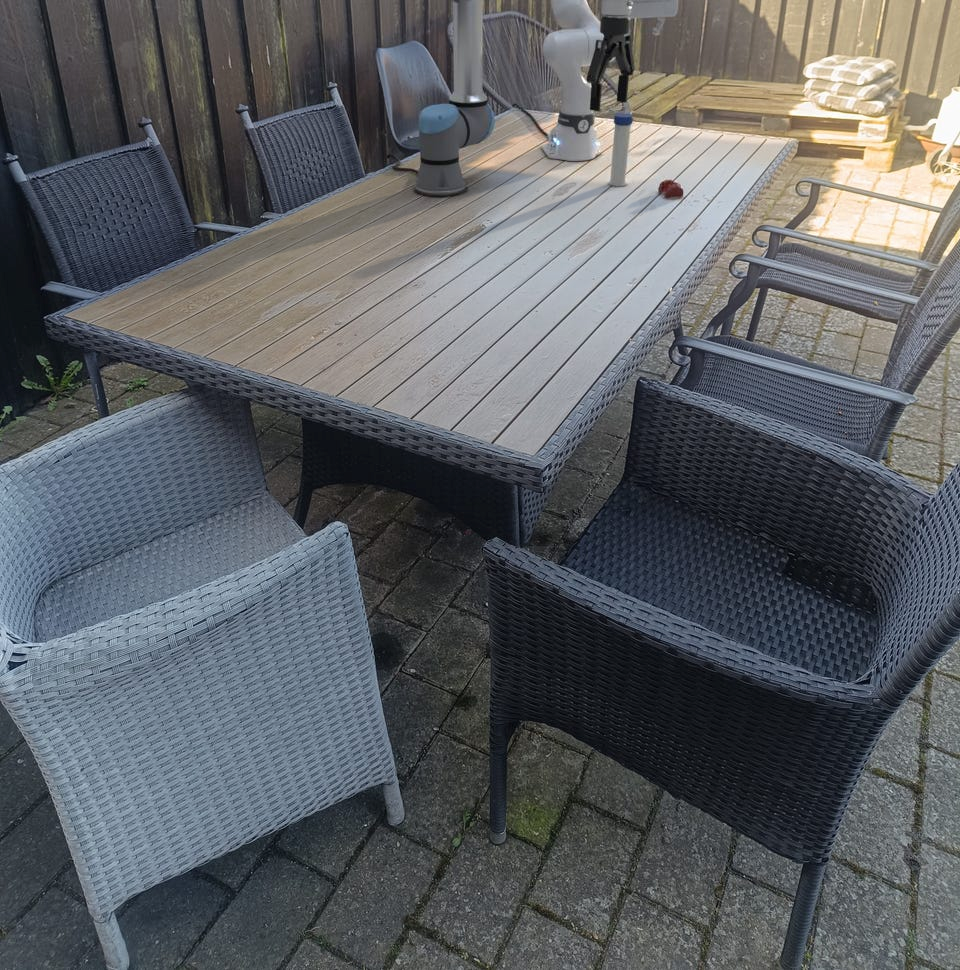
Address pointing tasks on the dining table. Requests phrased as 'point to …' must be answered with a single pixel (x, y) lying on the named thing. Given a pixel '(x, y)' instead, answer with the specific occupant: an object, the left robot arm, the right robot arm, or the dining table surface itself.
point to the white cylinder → (620, 155)
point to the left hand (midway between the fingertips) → (608, 106)
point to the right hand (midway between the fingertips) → (641, 35)
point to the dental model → (670, 189)
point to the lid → (623, 119)
